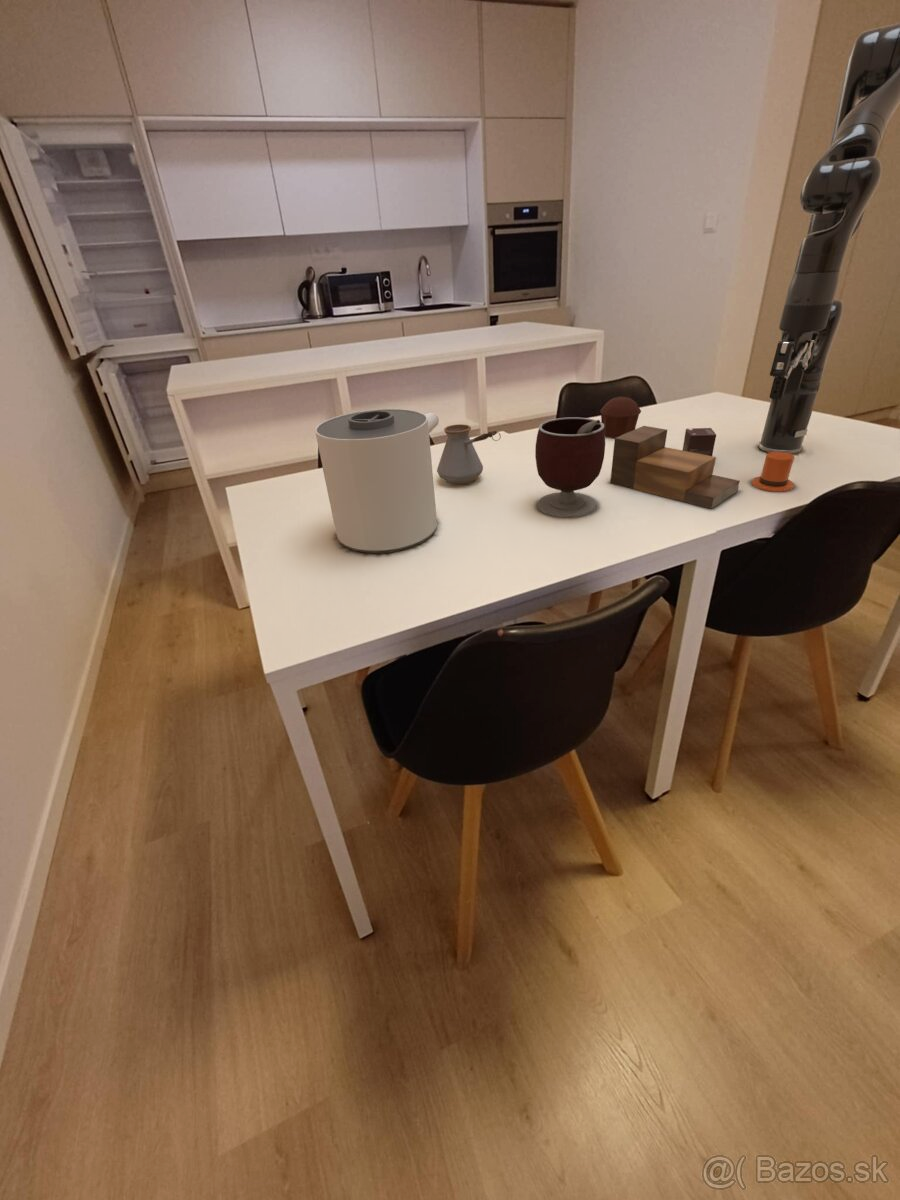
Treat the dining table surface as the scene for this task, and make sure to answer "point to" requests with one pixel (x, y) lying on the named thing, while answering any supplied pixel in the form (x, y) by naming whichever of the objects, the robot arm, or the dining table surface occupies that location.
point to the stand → (667, 469)
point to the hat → (775, 473)
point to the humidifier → (379, 478)
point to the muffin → (619, 416)
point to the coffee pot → (461, 456)
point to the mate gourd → (569, 463)
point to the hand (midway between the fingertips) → (784, 394)
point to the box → (699, 441)
